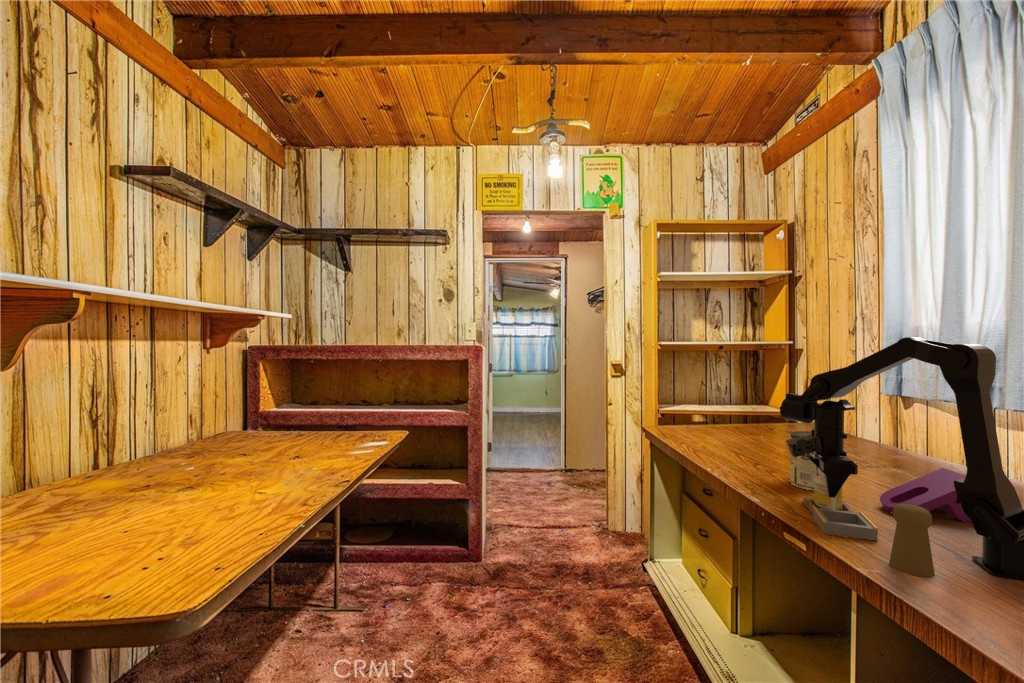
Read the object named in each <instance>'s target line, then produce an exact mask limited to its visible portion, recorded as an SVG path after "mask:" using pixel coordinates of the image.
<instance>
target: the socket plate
mask: <svg viewBox="0 0 1024 683" xmlns="http://www.w3.org/2000/svg"><path fill="white" fill-rule="evenodd" d="M813 518H814V519H813ZM812 519H813V520H814V522H815V521H816V522H815V523H816V525H817V524H818V525H817V526H818V527H820V528H819V529H820V531H821V532H822V534H823V535H827V534H828V535H827V536H834V535H838V536H837V537H841V536H847V537H846V538H848V537H855V538H854V539H856V538H862V539H861V540H863V539H868V540H867V541H870V540H877V541H876V542H878V537H879V536H878V533H879V532H878V527H877V525H876V524H874V523H873V522H872V520H870V519H869V517H868V516H866V514H864V513H863V511H859V512H855V511H854V512H848V511H843V510H842V511H840V510H832V509H823V508H816V507H815V505H814V506H813V513H812ZM855 524H856V525H855Z"/></svg>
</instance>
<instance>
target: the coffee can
mask: <svg viewBox="0 0 1024 683" xmlns="http://www.w3.org/2000/svg"><path fill="white" fill-rule="evenodd" d="M810 434H811V431H807V430H805V431H804V430H803V431H802V430H800V431H799V430H798V431H792V432H790V439H793V438H798V437H802V436H808V435H810ZM808 456H812V453H810V454H803V455H801V456H798V457H793V456H792V454H791V453H790V484H791V485H792V486H793V485H794V486H793V487H795V486H796V487H795V488H798V487H799V488H798V489H801V488H802V489H801V490H804V489H806V490H805V491H809V490H812V491H811V492H814V479H815V477H816V476H819V475H818V471H817V468H816V465H815V464H814V463H813V462H812V461H811V460H810V459H809V458H808Z"/></svg>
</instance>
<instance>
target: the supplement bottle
mask: <svg viewBox="0 0 1024 683" xmlns="http://www.w3.org/2000/svg"><path fill="white" fill-rule="evenodd" d="M818 474H819V476H816V477H815V479H814V491H813V494H814V496H813V497H814V498H813V499H814V504H813V505H814V506H815V507H816V508H823V509H832V510H840V511H843V510H842V501H843V486H842V487H841V489H840V490H839V492H838V494H837V495H836V497H835V498H832V497H829V494H828V489H827V484H826V478H825V474H824V473H823V472H822V471H821V470H820V469H819V468H818Z"/></svg>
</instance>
